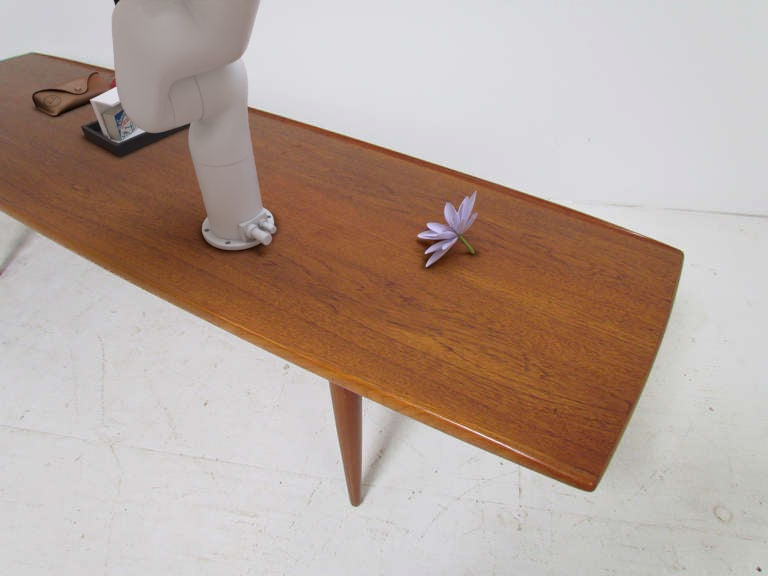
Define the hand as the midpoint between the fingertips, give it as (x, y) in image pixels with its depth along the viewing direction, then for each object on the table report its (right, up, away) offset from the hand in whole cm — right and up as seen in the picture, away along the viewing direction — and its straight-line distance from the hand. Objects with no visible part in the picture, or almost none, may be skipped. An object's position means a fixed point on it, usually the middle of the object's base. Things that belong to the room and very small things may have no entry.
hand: (109, 2), depth 84 cm
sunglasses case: (-30, -1, +41) cm, 51 cm away
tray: (-8, -11, +32) cm, 35 cm away
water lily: (+57, -41, +4) cm, 70 cm away
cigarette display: (-8, -10, +32) cm, 34 cm away
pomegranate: (-15, -2, +41) cm, 43 cm away
